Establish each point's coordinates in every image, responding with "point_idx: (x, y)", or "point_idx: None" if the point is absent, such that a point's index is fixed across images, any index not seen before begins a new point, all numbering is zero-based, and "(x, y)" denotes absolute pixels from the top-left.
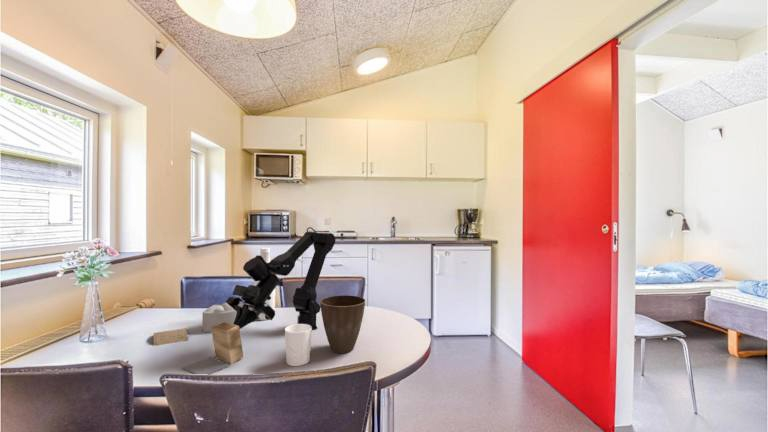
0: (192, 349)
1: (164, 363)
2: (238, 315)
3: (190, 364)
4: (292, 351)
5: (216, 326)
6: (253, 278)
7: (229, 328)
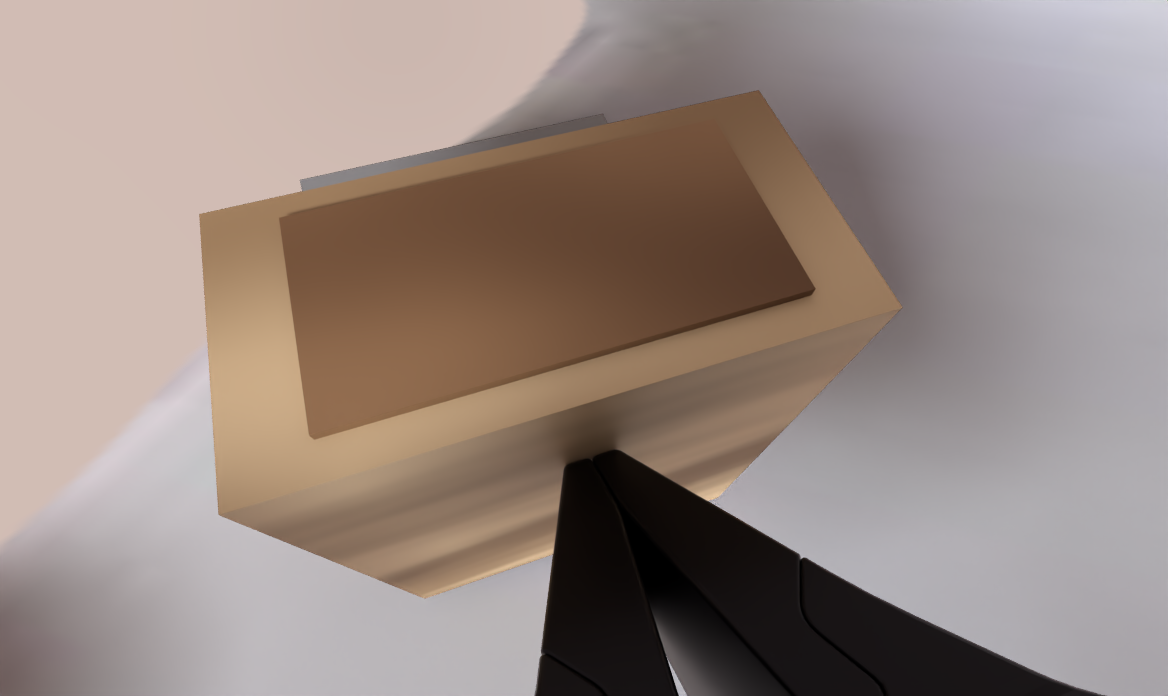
0: (998, 257)
1: (788, 52)
2: (844, 692)
3: None
4: None
5: (674, 138)
6: None
7: (293, 282)
